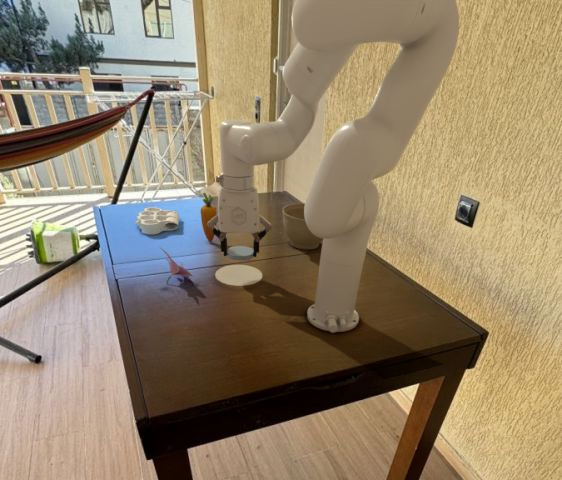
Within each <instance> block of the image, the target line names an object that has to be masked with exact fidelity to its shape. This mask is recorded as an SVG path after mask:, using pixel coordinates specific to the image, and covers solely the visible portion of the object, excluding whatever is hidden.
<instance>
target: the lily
mask: <svg viewBox="0 0 562 480" xmlns="http://www.w3.org/2000/svg"><path fill="white" fill-rule="evenodd" d="M159 249H160V250H161V251H163V253H164V254H165V255H166V256H167V258H165V260H166V261H167V262H169V270H170V274H169V276H168V278H167V280H166V283H165V285H168V283H169V281H170V279H171V277H172V276H182V277H184V278H186V279H188V280H189V281H190V282H192V283H194V281H193V280H192V279H191V278H190V277H193V275H192V273H191V272H190V271H189V270H187V269H186V268H185V267H184V263H181V261H180V262H179V264H178V263H176V261H175V260H174V259H172V258H171V256H170V254H169V253H168V252H167V251H166V250H164V248H162V247H160V246H159Z"/></svg>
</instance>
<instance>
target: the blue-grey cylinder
mask: <svg viewBox="0 0 562 480" xmlns="http://www.w3.org/2000/svg"><path fill="white" fill-rule="evenodd" d="M226 257H227V258H228V259H230V260H232V261H241V262H242V261H243V262H244V261H249V260H251V259H253V258H255V257H254V248H253V247H250V246H246V245H233V246H230V247H229V248H227V256H226Z"/></svg>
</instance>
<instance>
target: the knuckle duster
mask: <svg viewBox="0 0 562 480" xmlns="http://www.w3.org/2000/svg"><path fill="white" fill-rule="evenodd" d="M179 218H180V214H179V213H178V212H177V211H175V210H169V209H162V208H160V207H156V206H155V207H154V206H152V207H151V206H150V207H146V208H144V209H143V211H140V212H139V213H138V216H136V217H135V219H137V221H135V222H134V223H133V225H136V226H138V227H139V229H140V230H141V233H142V234H144V235H150V236H152V235H154V236H155V235H158V234H160V233H162V232H172V231H175V230H177V229H178V228H179V223H180V219H179Z"/></svg>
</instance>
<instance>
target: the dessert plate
mask: <svg viewBox="0 0 562 480" xmlns="http://www.w3.org/2000/svg"><path fill="white" fill-rule="evenodd" d="M214 276H215V279H216V280H217V281H219V282H220V283H222V284H225V285H228V286H235V287H238V286H239V287H244V286H250V285H254V284H256V283H259V282H260V281H261V280H262V279H263V272H262V271H261V270H259V269H258V268H257V267H254V266H251V265H247V264H229V265H225V266H222V267H220V268H219V269H217V270H216V272H215V273H214Z"/></svg>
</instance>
